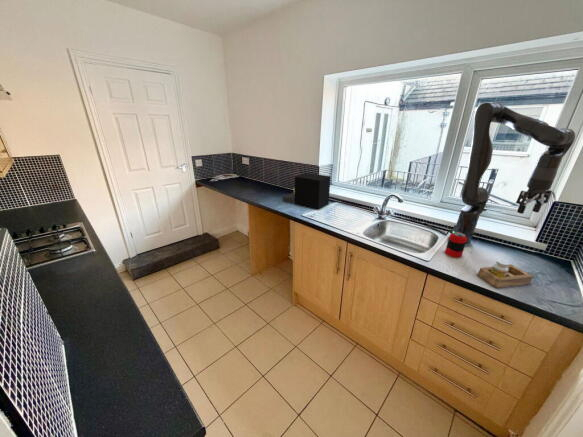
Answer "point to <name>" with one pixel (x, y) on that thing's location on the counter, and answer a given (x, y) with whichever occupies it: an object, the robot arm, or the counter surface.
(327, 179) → the black squarish block
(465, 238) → the soda can
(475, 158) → the robot arm
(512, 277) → the holder
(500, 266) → the supplement bottle
